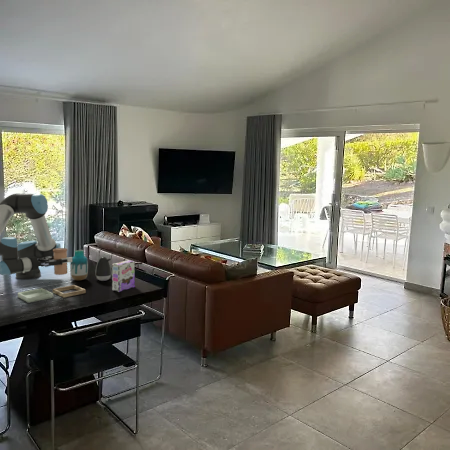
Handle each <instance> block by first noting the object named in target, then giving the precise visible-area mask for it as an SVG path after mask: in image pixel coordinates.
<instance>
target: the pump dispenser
mask: <svg viewBox="0 0 450 450" xmlns="http://www.w3.org/2000/svg"><path fill="white" fill-rule="evenodd" d="M111 260H112V259H111V258H107V257H106V256H100V257H99V259H98V260H97V264H96V265H95V266H96V267H95V277H96V279H97V280H99V281H101V282H104V281H108V280H110V279H111V278H112V265H111V264H110V261H111Z"/></svg>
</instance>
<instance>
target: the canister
mask: <svg viewBox="0 0 450 450" xmlns="http://www.w3.org/2000/svg"><path fill="white" fill-rule="evenodd" d="M53 252H54V260H57V259H62V258H68V257H67V256H68V248H65V247H61V248H56V249H53ZM53 269H54V270H53V271H54V273H53V274H54V275H56V276H60V275H61V276H62V275H63V276H64V275H66V274H68V263H62V265H54V267H53Z"/></svg>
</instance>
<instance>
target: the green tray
mask: <svg viewBox="0 0 450 450" xmlns="http://www.w3.org/2000/svg"><path fill="white" fill-rule="evenodd" d="M17 298H19V299H20V300H22V301H24V302H26V303H27V304H28V303H33V302H39V301H40V302H41V301H44V300H49V299H53V298H54V293H53V292H51V291H49V290H47V289H45V288H43V287H41V288H36V289H31V290H26V291H19V292H17Z"/></svg>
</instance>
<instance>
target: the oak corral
mask: <svg viewBox="0 0 450 450" xmlns="http://www.w3.org/2000/svg"><path fill="white" fill-rule="evenodd" d="M69 290H74V291H70V292H65V293H64V291H69ZM86 291H87V290H86V289H85V288H82V287H80V286H78V285H75V284H72V285H67V286H62V287H57V288H53V289H52V293H53V294H55V295H57V296H60V297H62V298H68V297H72V296H73V297H74V296H78V295H82V294H86Z"/></svg>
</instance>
